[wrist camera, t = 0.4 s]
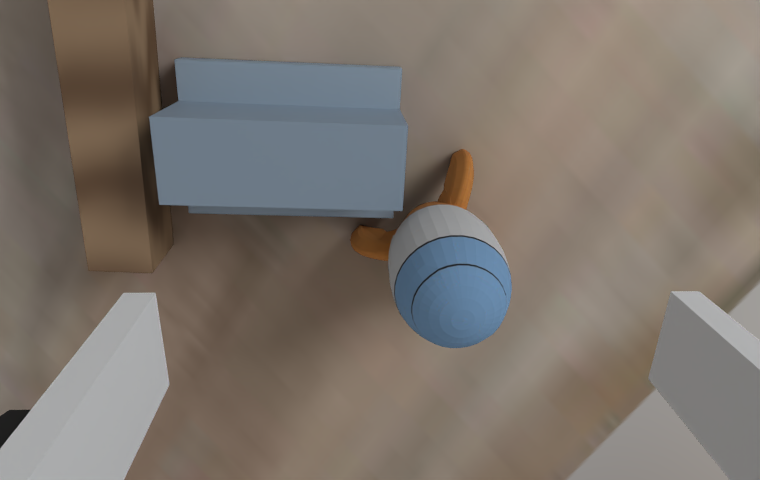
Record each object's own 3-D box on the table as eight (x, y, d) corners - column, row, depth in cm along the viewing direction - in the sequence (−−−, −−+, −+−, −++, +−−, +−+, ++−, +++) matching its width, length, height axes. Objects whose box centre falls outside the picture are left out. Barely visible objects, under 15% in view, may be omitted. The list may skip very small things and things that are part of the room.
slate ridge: (181, 57, 35) (143, 68, 29) (400, 66, 36) (411, 79, 29) (194, 205, 39) (163, 244, 32) (391, 210, 40) (400, 249, 33)
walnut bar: (68, -155, 31) (19, -184, 26) (142, -148, 31) (106, -175, 26) (118, 240, 40) (88, 270, 35) (174, 243, 40) (152, 273, 36)
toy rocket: (343, 251, 42) (315, 312, 27) (401, 122, 40) (404, 112, 26) (465, 305, 43) (501, 392, 28) (527, 179, 41) (601, 202, 26)
